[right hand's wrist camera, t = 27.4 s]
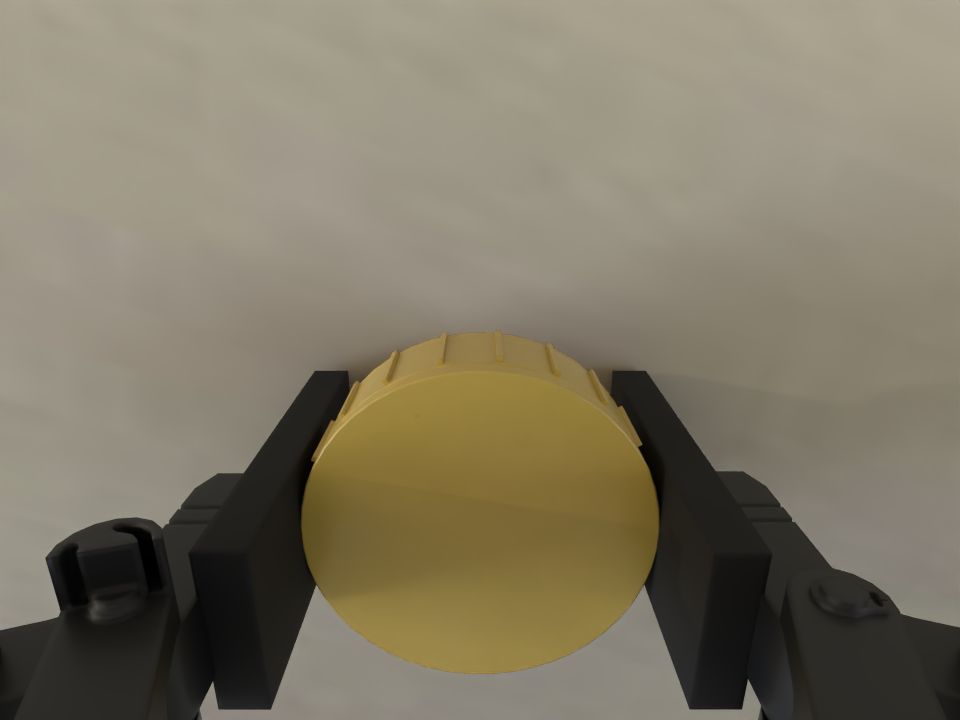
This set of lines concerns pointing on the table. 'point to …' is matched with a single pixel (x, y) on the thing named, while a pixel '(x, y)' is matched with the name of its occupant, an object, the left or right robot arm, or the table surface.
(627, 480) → the lid
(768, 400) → the table surface
